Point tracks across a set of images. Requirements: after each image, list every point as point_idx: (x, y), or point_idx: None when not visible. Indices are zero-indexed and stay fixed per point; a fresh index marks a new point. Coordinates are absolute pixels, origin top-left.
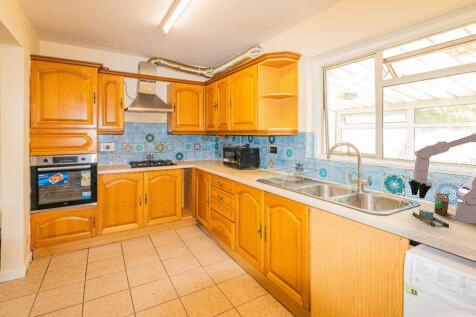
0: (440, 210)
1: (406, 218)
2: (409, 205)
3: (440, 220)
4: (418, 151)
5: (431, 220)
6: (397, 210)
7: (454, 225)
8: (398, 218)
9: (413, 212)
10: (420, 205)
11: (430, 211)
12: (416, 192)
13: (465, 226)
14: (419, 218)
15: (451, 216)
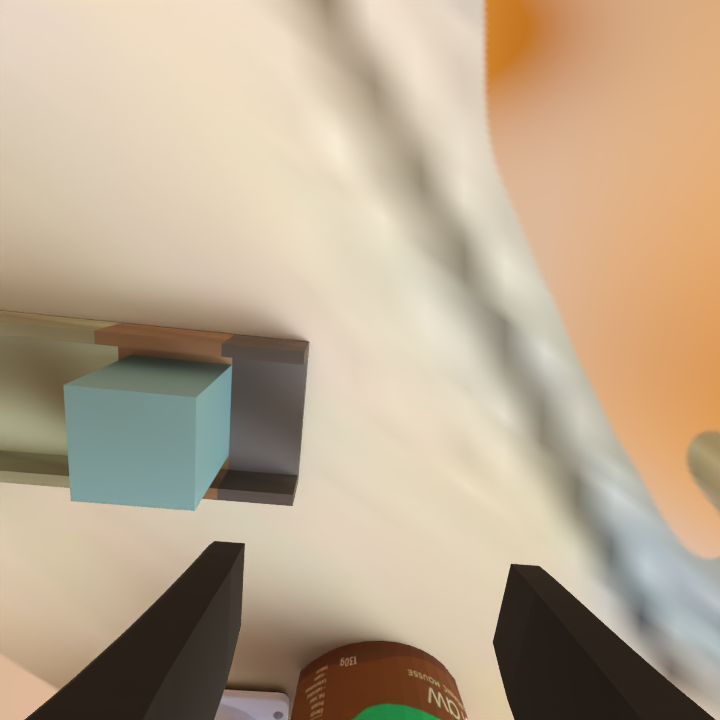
0: (340, 698)
1: (177, 173)
2: (678, 568)
3: (13, 472)
4: None
5: None
6: (498, 278)
7: (47, 568)
8: (156, 42)
9: (285, 349)
10: None
11: (112, 487)
12: (526, 704)
13: (44, 643)
14: (165, 330)
15: (281, 709)
